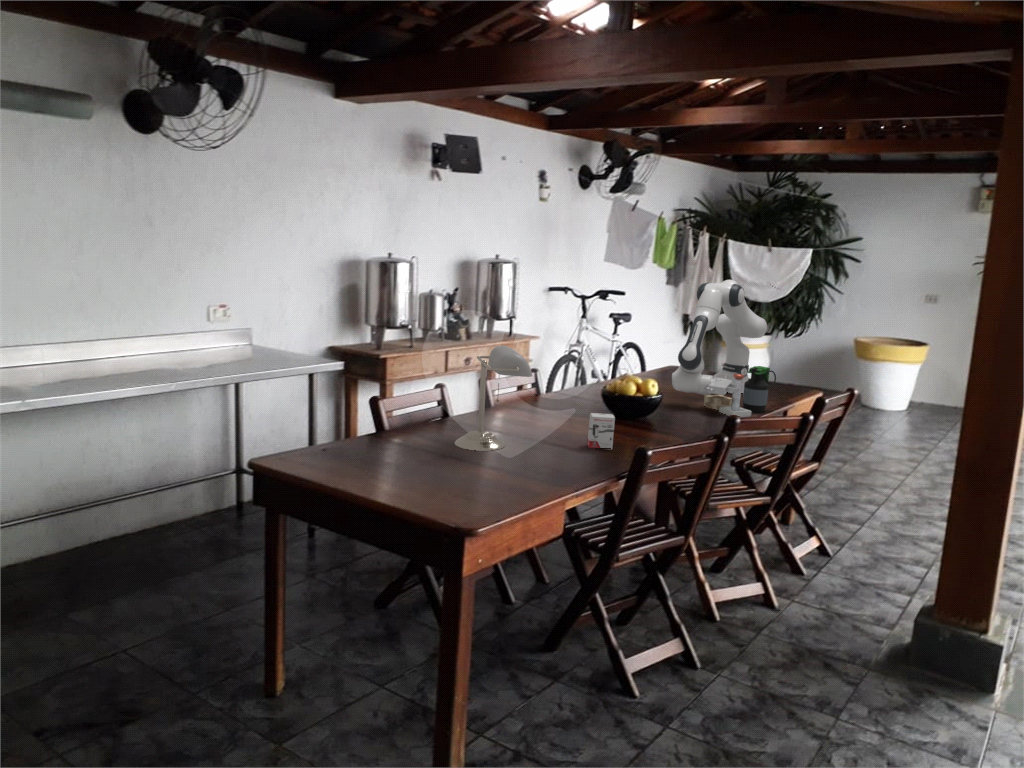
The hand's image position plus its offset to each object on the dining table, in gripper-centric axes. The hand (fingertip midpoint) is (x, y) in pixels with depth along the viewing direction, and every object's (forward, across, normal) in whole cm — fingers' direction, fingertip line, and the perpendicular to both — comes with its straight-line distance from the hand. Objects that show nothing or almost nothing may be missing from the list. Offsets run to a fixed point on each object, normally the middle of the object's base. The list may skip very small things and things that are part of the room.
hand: (739, 389), depth 348 cm
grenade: (+6, +16, +12) cm, 20 cm away
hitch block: (-10, +10, +12) cm, 18 cm away
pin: (-1, 0, +11) cm, 11 cm away
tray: (-1, 0, +12) cm, 12 cm away
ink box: (-34, -88, +12) cm, 95 cm away
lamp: (-69, -107, +12) cm, 128 cm away
